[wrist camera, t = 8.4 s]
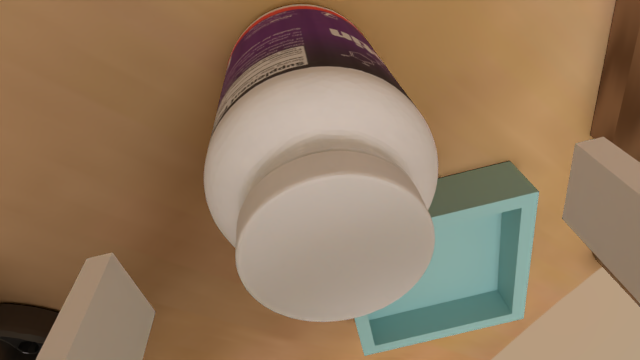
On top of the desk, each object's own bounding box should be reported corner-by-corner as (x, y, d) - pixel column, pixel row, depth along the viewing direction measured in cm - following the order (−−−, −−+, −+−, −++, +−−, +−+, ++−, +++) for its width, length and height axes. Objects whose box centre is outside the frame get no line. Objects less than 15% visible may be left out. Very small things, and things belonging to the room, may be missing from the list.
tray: (356, 318, 36) (364, 355, 33) (326, 206, 28) (333, 241, 25) (501, 283, 35) (523, 318, 33) (509, 160, 28) (539, 191, 25)
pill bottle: (393, 95, 24) (517, 278, 13) (280, 160, 26) (296, 377, 14) (325, -36, 20) (417, 56, 8) (195, 53, 22) (115, 236, 10)
